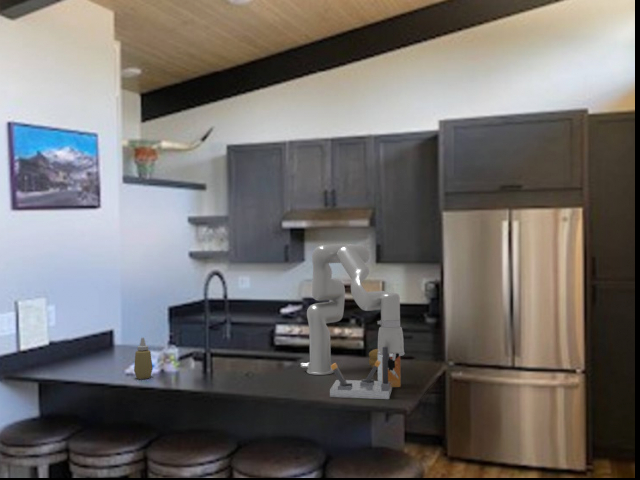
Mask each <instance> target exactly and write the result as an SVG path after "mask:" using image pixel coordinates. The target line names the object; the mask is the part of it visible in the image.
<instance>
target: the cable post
mask: <svg viewBox="0 0 640 480" xmlns="http://www.w3.org/2000/svg"><path fill="white" fill-rule="evenodd" d="M389 389H390V382H388V347H383V382H382V384H381V390H389Z"/></svg>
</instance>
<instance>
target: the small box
mask: <svg viewBox="0 0 640 480" xmlns="http://www.w3.org/2000/svg"><path fill="white" fill-rule="evenodd" d="M389 356H390V359H391V360H392V357H393V353H392V354H389ZM378 361H380V362H381V363H380V365H379V367H378V370H377V381H383V356H381V355H378ZM388 381H392V388H401V387H402V386H401V385H402V384H401V383H402V382H401V356H398V357H397V358H396V359H395V368H393V371H392V370H389V368H388Z"/></svg>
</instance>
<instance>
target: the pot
mask: <svg viewBox="0 0 640 480" xmlns="http://www.w3.org/2000/svg"><path fill="white" fill-rule="evenodd" d="M377 353H378V348H375V349H372V350H370V352H369V353H368V357H369V360H368V363H369V365H370V367H371V368H373V367H374V365H375V363H376V361H377V360H378V354H377ZM389 354H392V353H389ZM376 371H378V368H377V370H376Z"/></svg>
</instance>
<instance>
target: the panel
mask: <svg viewBox="0 0 640 480" xmlns="http://www.w3.org/2000/svg"><path fill="white" fill-rule="evenodd" d="M366 379H367V378H365V379H364V378H363V379H361V380H356V379H355V380H353V379H352V380H351V379H345V380H346V382H347V384H346V385H344V386H342V385H341V383H340V381H339V380H338V379H336V380H335V381H334V383H333V384H332V386H331V387H330V389H329V397H330V398H344V399H345V398H346V399H371V400H372V399H374V400H375V399H376V400H377V399H378V400H379V399H380V400H390V397H391V393H392V391H393V387H392V381H388V382H390V389H389V390H381V384H382V382H383V381H378V380H375V379H371V380H370V382H367V381H366Z"/></svg>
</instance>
